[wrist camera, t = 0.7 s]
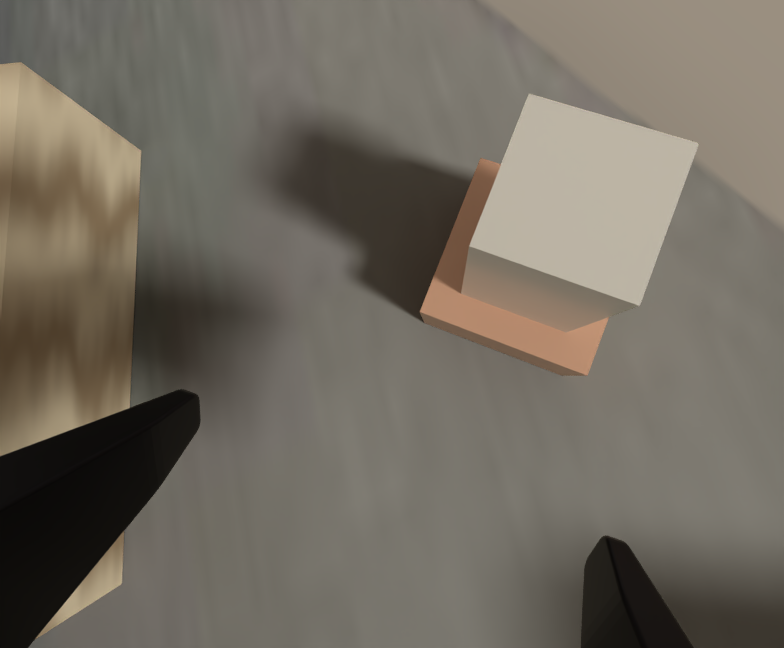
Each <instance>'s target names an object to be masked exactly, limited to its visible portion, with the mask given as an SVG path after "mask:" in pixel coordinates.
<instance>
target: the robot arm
mask: <svg viewBox="0 0 784 648" xmlns="http://www.w3.org/2000/svg"><path fill="white" fill-rule="evenodd" d="M200 420H201V419H200V402H199V397H198V395H197V394H195V393H192V392H189V391H186V390H183V389H180V390H176V391H174V392H171V393H168V394H166V395H163V396H160V397H158V398H155V399H152V400H149V401H147V402H144V403H141V404H139V405H136V406H133V407H131V408H128V409H125V410H123V411H120V412H117V413H115V414H112V415H109V416H107V417H104V418H101V419H99V420H96V421H93V422H91V423H88V424H85V425H82V426H80V427H77V428H74V429H72V430H69V431H66V432H64V433H61V434H58V435H56V436H53V437H50V438H48V439H45V440H42V441H40V442H37V443H34V444H32V445H29V446H26V447H24V448H21V449H18V450H15V451H13V452H10V453H7V454H5V455H2V456H0V648H28V647H29V646H30V645H31V643H32V642H33V641H34V640H35V639H36V637H37V636H38V635H39V634H40V633H41V631H42V630H43V629H44V628H45V626H46V625H47V624H48V623H49V622H50V620H51V619H52V618H53V617H54V615H55V614H56V613H57V612H58V611H59V609H60V608H61V607H62V606H63V605H64V603H65V602H66V601H67V600H68V598H69V597H70V596H71V595H72V594H73V592H74V591H75V590H76V589H77V587H78V586H79V585H80V584H81V583H82V581H83V580H84V579H85V578H86V577H87V575H88V574H89V573H90V572H91V570H92V569H93V568H94V567H95V566H96V564H97V563H98V562H99V561H100V559H101V558H102V557H103V556H104V555H105V553H106V552H107V551H108V550H109V549H110V547H111V546H112V545H113V544H114V542H115V541H116V540H117V539H118V538H119V536H120V535H121V534H122V533H123V531H124V530H125V529H126V528H127V527H128V525H129V524H130V523H131V522H132V521H133V519H134V518H135V517H136V516H137V514H138V513H139V512H140V511H141V510H142V508H143V507H144V506H145V505H146V504H147V502H148V501H149V500H150V499H151V497H152V496H153V495H154V494H155V492H156V491H157V490H158V489H159V487H160V486H161V484H162V483H163V482H164V480H165V479H166V477H167V476H168V474H169V473H170V471H171V470H172V468H173V467H174V465H175V464H176V462H177V461H178V459H179V458H180V456H181V455H182V453H183V452H184V450H185V449H186V447H187V446H188V444H189V443H190V441H191V440H192V438H193V437H194V435H195V434H196V432H197V430H198V428H199V426H200ZM581 648H694V647H693V646H692V644H691V643H690V641H689V640H688V638H687V636H686V635H685V633H684V632H683V630H682V629H681V627H680V625H679V624H678V622H677V621H676V619H675V618H674V616H673V615H672V613H671V611H670V610H669V608H668V607H667V605H666V604H665V602H664V600H663V599H662V597H661V596H660V594H659V593H658V591H657V589H656V588H655V586H654V585H653V583H652V582H651V580H650V578H649V577H648V575H647V574H646V572H645V571H644V569H643V568H642V566H641V564H640V563H639V561H638V560H637V558H636V557H635V555H634V553H633V552H632V550H631V549H630V547H629V546H628V545H627V544H626V543H625V542H624V541H621V540H618V539H615V538H613V537H610V536H603V537H602V538H601V539H600V540H599V542H598V543H597V545H596V546H595V548H594V549H593V551H592V552H591V554H590V555H589V557H588V558H587V560H586V564H585V569H584V587H583V608H582V629H581Z"/></svg>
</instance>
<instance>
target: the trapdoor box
mask: <svg viewBox="0 0 784 648" xmlns="http://www.w3.org/2000/svg"><path fill="white" fill-rule="evenodd" d="M140 167H141V150H139V149H138V148H137V147H135V146H134V145H133V144H131V143H130V142H128V141H127V140H126V139H124V138H123V137H122V136H120V135H119V134H118V133H116V132H115V131H113V130H112V129H111V128H109V127H108V126H107V125H105V124H104V123H103V122H101V121H100V120H99V119H97V118H96V117H94V116H93V115H92V114H90V113H89V112H88V111H86V110H85V109H84V108H82V107H81V106H80V105H78V104H77V103H75V102H74V101H73V100H71V99H70V98H69V97H67V96H66V95H65V94H63V93H62V92H60V91H59V90H58V89H56V88H55V87H54V86H52V85H51V84H50V83H48V82H47V81H46V80H44V79H43V78H41V77H40V76H39V75H37V74H36V73H35V72H33V71H32V70H31V69H29V68H28V67H27V66H25V65H24V64H22V63H21V62H19V63H9V64H0V456H2V455H5V454H7V453H10V452H13V451H15V450H18V449H21V448H24V447H26V446H29V445H32V444H34V443H37V442H40V441H42V440H45V439H48V438H50V437H53V436H56V435H58V434H61V433H64V432H66V431H69V430H72V429H74V428H77V427H80V426H82V425H85V424H88V423H91V422H93V421H96V420H99V419H101V418H104V417H107V416H109V415H112V414H115V413H117V412H120V411H123V410H125V409H128V408H130V390H131V368H132V346H133V323H134V301H135V279H136V256H137V234H138V212H139V190H140ZM123 546H124V531H123V533H122V534H121V535H120V536H119V538H118V539H117V540H116V541H115V542H114V544H113V545H112V546H111V547H110V549H109V550H108V551H107V552H106V553H105V555H104V556H103V557H102V558H101V559H100V561H99V562H98V563H97V564H96V566H95V567H94V568H93V569H92V570H91V572H90V573H89V574H88V575H87V577H86V578H85V579H84V580H83V581H82V583H81V584H80V585H79V586H78V587H77V589H76V590H75V591H74V592H73V594H72V595H71V596H70V597H69V598H68V600H67V601H66V602H65V603H64V605H63V606H62V607H61V608H60V609H59V611H58V612H57V613H56V614H55V615H54V617H53V618H52V619H51V620H50V622H49V623H48V624H47V625H46V626H45V628H44V629H43V630H42V631H41V633H40V634H39V635H38V636H37V637H36V639H37V638H38V637H40V636H41V635H43V634H44V633H46V632H48V631H49V630H51V629H52V628H54V627H55V626H57V625H58V624H60V623H62V622H63V621H65V620H66V619H68V618H69V617H71V616H73V615H74V614H76V613H77V612H79V611H80V610H82V609H83V608H85V607H87V606H88V605H90V604H91V603H93V602H94V601H96V600H98V599H99V598H101V597H102V596H104V595H105V594H107V593H108V592H110V591H112V590H113V589H115V588H116V587H118V586H119V585H121V584H122V568H123Z"/></svg>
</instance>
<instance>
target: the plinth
mask: <svg viewBox="0 0 784 648" xmlns="http://www.w3.org/2000/svg"><path fill="white" fill-rule="evenodd" d="M500 166H501V164H498V163H495V162H492V161H489V160H486V159H482V158H480V161H479V163H478V166H477V168H476V171H475V173H474V176H473V178H472V181H471V184H470V186H469V189H468V191H467V194H466V196H465V199H464V201H463V204H462V206H461V209H460V211H459V214H458V216H457V219H456V221H455V224H454V227H453V229H452V232H451V234H450V237H449V239H448V242H447V244H446V247H445V249H444V252H443V254H442V257H441V259H440V262H439V264H438V267H437V269H436V272H435V275H434V277H433V280H432V282H431V285H430V287H429V290H428V292H427V295H426V297H425V300H424V302H423V305H422V307H421V310H420V314H421V316H422V319H423V321H424V323H426V324H428V325H431V326H434V327H436V328H439V329H441V330H444V331H447V332H449V333H452V334H455V335H457V336H460V337H462V338H465V339H468V340H470V341H473V342H475V343H478V344H481V345H483V346H486V347H488V348H491V349H494V350H496V351H499V352H501V353H504V354H507V355H509V356H512V357H514V358H517V359H520V360H522V361H525V362H528V363H530V364H533V365H535V366H538V367H541V368H543V369H546V370H548V371H551V372H554V373H556V374H559V375H561V376H587V375H588V372H589V370H590V367H591V364H592V362H593V359H594V356H595V353H596V351H597V348H598V345H599V343H600V340H601V337H602V334H603V332H604V329H605V326H606V324H607V321H608V318H609V317H608V318H605V319H602V320H600V321H597V322H594V323H591V324H588V325H586V326H583V327H580V328H577V329H575V330H572V331H569V332H563V331H561V330H558V329H555V328H552V327H550V326H547V325H544V324H542V323H539V322H536V321H533V320H531V319H528V318H525V317H523V316H520V315H517V314H515V313H512V312H509V311H506V310H504V309H501V308H498V307H496V306H493V305H490V304H487V303H485V302H482V301H479V300H477V299H474V298H471V297H468V296H466V295H463V294H461V290H462V285H463V279H464V273H465V267H466V261H467V256H468V250H469V245H470V243H471V240H472V238H473V235H474V232H475V230H476V227H477V225H478V222H479V220H480V217H481V215H482V212H483V210H484V207H485V204H486V202H487V199H488V197H489V194H490V192H491V189H492V187H493V184H494V181H495V179H496V176H497V174H498V171H499V169H500Z"/></svg>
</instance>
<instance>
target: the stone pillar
mask: <svg viewBox="0 0 784 648" xmlns="http://www.w3.org/2000/svg"><path fill="white" fill-rule="evenodd" d="M698 145H699V143H696V142H693V141H689V140H686V139H682V138H679V137H675V136H672V135H669V134H665V133H662V132H659V131H655V130H652V129H648V128H645V127H642V126H638V125H635V124H631V123H628V122H624V121H621V120H618V119H614V118H611V117H607V116H604V115H601V114H597V113H594V112H590V111H587V110H583V109H580V108H577V107H573V106H570V105H566V104H563V103H560V102H556V101H553V100H549V99H546V98H542V97H539V96H536V95H532V94H529V95H528V97H527V100H526V102H525V105H524V108H523V110H522V113H521V115H520V118H519V120H518V123H517V125H516V128H515V130H514V133H513V136H512V138H511V141H510V143H509V146H508V148H507V151H506V153H505V156H504V159H503V161H502V164H501V166H500V169H499V171H498V174H497V176H496V179H495V181H494V184H493V187H492V189H491V192H490V194H489V197H488V199H487V202H486V204H485V207H484V210H483V212H482V215H481V217H480V220H479V222H478V225H477V227H476V230H475V232H474V235H473V238H472V240H471V243H470V245H469V250H468V256H467V261H466V267H465V273H464V279H463V285H462V290H461V294H463V295H466V296H468V297H471V298H474V299H477V300H479V301H482V302H485V303H487V304H490V305H493V306H496V307H498V308H501V309H504V310H506V311H509V312H512V313H515V314H517V315H520V316H523V317H525V318H528V319H531V320H533V321H536V322H539V323H542V324H544V325H547V326H550V327H552V328H555V329H558V330H561V331H563V332H569V331H572V330H575V329H577V328H580V327H583V326H586V325H588V324H591V323H594V322H597V321H600V320H602V319H605V318H608V317H611V316H613V315H616V314H619V313H622V312H624V311H627V310H630V309H633V308H635V307H638V306H640V304H641V301H642V298H643V295H644V293H645V290H646V287H647V284H648V282H649V279H650V276H651V273H652V271H653V268H654V265H655V263H656V260H657V257H658V254H659V252H660V249H661V246H662V243H663V241H664V238H665V235H666V232H667V230H668V227H669V224H670V221H671V219H672V216H673V213H674V210H675V208H676V205H677V202H678V199H679V197H680V194H681V191H682V189H683V186H684V183H685V180H686V178H687V175H688V172H689V169H690V167H691V164H692V161H693V158H694V156H695V153H696V150H697V147H698Z"/></svg>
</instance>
